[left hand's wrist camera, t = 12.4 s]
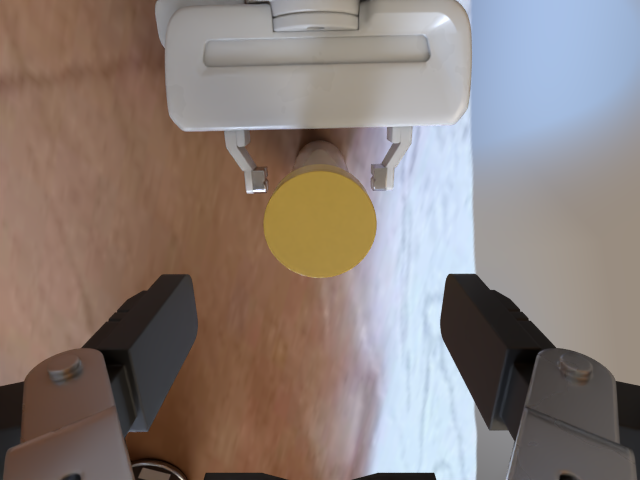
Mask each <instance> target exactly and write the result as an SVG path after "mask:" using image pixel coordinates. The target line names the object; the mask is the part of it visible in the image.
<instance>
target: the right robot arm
mask: <svg viewBox="0 0 640 480" xmlns="http://www.w3.org/2000/svg"><path fill="white" fill-rule="evenodd" d="M246 3H247V4H246ZM155 16H156V22H157V28H158V35H159V38H160V41H161V44H162V46H163V48H164V49H165V83H166V95H167V105H168V112H169V116H170V118H171V119H172V120H173V121H174V123H175V124H176V125H177V126H178V127H179V128H180V129H181V130H182V131H224V134H225V143H226V148H227V150H228V151H229V152H230V154H231V155H232V157H233V158H234V160H235V161H236V162H237V164H238V165H239V167H240V168H241V169H242V171H244V174H245V184H246V192H247V194H254V193H267V191H268V188H269V184H268V180H267V178H266V177H267V176H268V170H267V167H256V164H255V162H254V161H253V159H252V158H251V156H250V155H249V153H248V151H247V150H246V148H245V147H244V146H246V145H247V144H249V143H250V130H274V129H317V128H360V127H387V139H388V140H389V141H390V142H392V143H393V144H392V146H391V148H390V149H389V151H388V153H387V155H386V156H385V158H384V160H383V161H382V164H371V174H372V175H373V176H372V177H371V188H372V190H373V191H391V190H393V183H394V167H397V165H398V163H399V162H400V160H401V159H402V157H403V156H404V154H405V153H406V151H407V149H408V148H409V146H410V145H411V141H412V127H413V126H445V125H454V124H456V123H457V121H458V120H459V119H460V118H461V117H462V116H463V114H464V113H465V112H466V110H467V108H468V103H469V97H470V86H471V68H472V40H471V27H470V22H469V18H468V15H467V13H466V11H465V9H464V8H463V7H462V5H461V4H460V3H459V2H457V1H456V0H157V2H156V5H155Z"/></svg>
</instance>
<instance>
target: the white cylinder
mask: <svg viewBox="0 0 640 480" xmlns="http://www.w3.org/2000/svg"><path fill="white" fill-rule="evenodd" d="M313 164H326V165H332V166H336V167H339V168H341V169H343V170H345V171H347V172H349V171H348V169H347V166H346V163H345V161H344V158H343V156H342V154H341V152H340V150H339V149H338V148H337V147H336V146H335V145H333V144H332V143H330V142H327V141H322V140H318V141H313V142H310V143H308V144H307V145H305V146H304V147H303V148H302V149H301V150H300V152H299V154H298V156H297V158H296V161H295V163H294V166H293V169H292V171H291V172H293V171H295V170H297V169H299V168H301V167H304V166H308V165H313Z"/></svg>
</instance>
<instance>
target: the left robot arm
mask: <svg viewBox="0 0 640 480" xmlns="http://www.w3.org/2000/svg"><path fill="white" fill-rule="evenodd" d="M440 328H441V334H442V338H443V340H444V343H445V344H446V346H447V348H448V350H449V352H450V354H451V356H452V358H453V360H454V362H455V364H456V366H457V368H458V370H459V372H460V374H461V376H462V378H463V380H464V382H465V384H466V386H467V388H468V390H469V391H470V393H471V395H472V397H473V399H474V401H475V403H476V405H477V407H478V409H479V411H480V413H481V415H482V417H483V419H484V421H485V423H486V425H487V427H488V429H489V430H509V432H510V434H511V436H512V437H513V439H514V445H513V449H512V453H511V457H510V461H509V465H508V470H507V474H506V478H505V480H640V386H638V385H633V384H628V383H623V382H618V381H615V378H614V376H613V375H612V374H611V372H610V371H609V370H608V369H607V368H606V367H604V366H603V365H602V364H600V363H599V362H597V361H596V360H594V359H592V358H590V357H588V356H586V355H583V354H581V353H578V352H575V351H571V350H566V349H560V348H556V347H555V346H554V345H553V344H552V343H551V342H550V341H549V340H548V339H547V337H546V336H545V335H544V334H543V333H542V332H541V331H540V330H539V329H538V328H537V327H536V326H535V325H534V324H533V323H532V322H531V321H529V320H528V317H527V316H526V315H525V314H524V313H523V312H520V309H519V308H518V307H517V306H516V305H515V304H514V303H513V302H512V301H511V300H510V299H509V298H507V297H506V296H504V295H502V294H500V293H499V292H497V291H495V290H490V289H489V288H488V287H487V286H486V285H485V284H484V282H483V281H482V280H481V279H480V278H479V277H478V276H477V275H476V274H449V275H448V276H447V278H446V283H445V290H444V297H443V304H442V311H441V319H440ZM197 329H198V319H197V312H196V304H195V297H194V290H193V283H192V279H191V277H190V275H188V274H163V275H161V276H160V277H159V278H158V279H157V280H156V282H155V283H154V284H153V285H152V286H151V287H150V288H149V289H148V290H147V291H142V292H140V293H138V294H137V295H135V296H133V297H131V298H130V299H128V300H127V301H126V302H125V303H124V304H123V305H122V306H121V307H120V308H119V309H118V310H117V313H114V314H113V315H112V316H111V317H110V318H109V321H108V322H106V323H105V324H104V325H103V326H102V327H101V328H100V329H99V330H98V331H97V332H96V333H95V334H94V335H93V336H92V337H91V338H90V339H89V340H88V341H87V343H86V344H85V345H84V346H83V347H82V348H80V349H73V350H69V351H65V352H62V353H59V354H57V355H54V356H52V357H50V358H48V359H46V360H44V361H43V362H41V363H40V364H38V365H37V366H36V367H34V368H33V369H32V370H31V371H30V372H29V374H28V375H27V376H26V378H25V381H24V382H19V383H15V384H10V385H5V386H0V480H187V478H186V476H185V475H184V474H183V473H182V472H181V471H180V470H179V469H177V468H176V467H174V466H172V465H170V464H168V463H166V462H162V461H158V460H148V459H147V460H138V461H134V462H132V463H131V461H130V457H129V453H128V449H127V445H126V441H125V437H126V435H127V433H128V432H148V430H149V428H150V426H151V424H152V422H153V421H154V419H155V417H156V415H157V413H158V411H159V409H160V407H161V405H162V403H163V401H164V399H165V397H166V395H167V393H168V392H169V390H170V388H171V386H172V384H173V382H174V380H175V378H176V376H177V374H178V372H179V370H180V368H181V366H182V364H183V363H184V361H185V359H186V357H187V355H188V353H189V351H190V349H191V347H192V345H193V343H194V341H195V339H196V335H197ZM204 480H287V479H283V478H279V477H276V476H272V475H268V474H264V473H206V474H205V477H204ZM353 480H436V477H435V474H434V473H376V474H372V475H368V476H364V477H361V478H357V479H353Z"/></svg>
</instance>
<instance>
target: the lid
mask: <svg viewBox="0 0 640 480" xmlns="http://www.w3.org/2000/svg"><path fill="white" fill-rule="evenodd" d="M376 225H377V221H376V214H375V210H374V207H373V204H372V202H371V200H370V198H369V196H368V194H367V192H366V190H365V189H364V187H363V185H362V184H361V183H360V182H359V180H357V179H356V178H355V177H354V176H353V175H352V174H350V173H349V172H347V171H345V170H343V169H341V168H339V167H336V166H332V165H326V164H313V165H308V166H304V167H301V168H299V169H297V170H295V171H293V172H291V173H290V174H288V175H287V176H286V177H285V178H284V179H283V180H282V181H281V182H280V183H279V184H278V185H277V187H276V189H275V190H274V192H273V194H272V196H271V198H270V200H269V202H268V204H267V207H266V210H265V214H264V224H263V227H264V234H265V238H266V241H267V244H268V246H269V248H270V250H271V252H272V253H273V255H274V256H275V257H276V258H277V259H278V260H279V261H280V263H282V264H283V265H284V266H285V267H287V268H288V269H290V270H292V271H293V272H296V273H298V274H301V275H304V276H308V277H315V278H326V277H332V276H336V275H340V274H342V273H344V272H347V271H348V270H350V269H352V268H353V267H355V266H356V265H357V264H358V263H359V262H360V261H362V260H363V258H364V257H365V256H366V255H367V253H368V252H369V250H370V248H371V246H372V244H373V242H374V238H375V235H376Z"/></svg>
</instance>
